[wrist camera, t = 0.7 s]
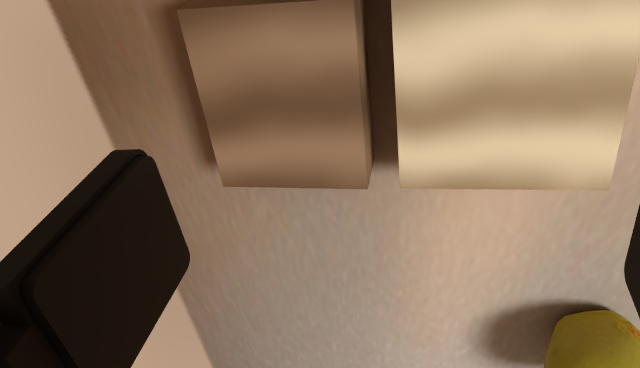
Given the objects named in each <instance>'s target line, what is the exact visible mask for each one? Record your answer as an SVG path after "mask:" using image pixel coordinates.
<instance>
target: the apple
mask: <svg viewBox="0 0 640 368" xmlns="http://www.w3.org/2000/svg"><path fill="white" fill-rule="evenodd" d="M544 368H640V331H639V330H638V329H637V328H636V327H635V326H634V325H633V324H632V323H630V322H629V321H628V320H627V319H626V318H624V317H623V316H621V315H619V314H617V313H615V312H613V311H609V310H599V311H586V312H581V313H575V314H570V315H567V316H564V317H563V318H561V319H560V320H559V321H558V323H557V324H556V326H555V329H554V331H553V334H552V337H551V341H550V344H549V347H548V349H547V353H546V357H545V363H544Z"/></svg>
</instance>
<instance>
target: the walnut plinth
mask: <svg viewBox="0 0 640 368" xmlns="http://www.w3.org/2000/svg"><path fill="white" fill-rule="evenodd" d="M176 11H177V15H178V19H179V23H180V26H181V30H182V34H183V38H184V41H185V45H186V49H187V53H188V56H189V60H190V64H191V68H192V71H193V75H194V79H195V83H196V86H197V90H198V94H199V98H200V101H201V105H202V109H203V113H204V116H205V120H206V124H207V128H208V131H209V135H210V139H211V143H212V146H213V150H214V154H215V158H216V161H217V165H218V169H219V173H220V176H221V180H222V184H223V187H278V188H334V189H368V185H369V181H370V176H371V171H372V166H373V161H374V155H373V139H372V124H371V109H370V93H369V78H368V63H367V47H366V32H365V16H364V1H363V0H190V1H188V2H187V3H185V4H184V5H182V6H181V7H180V8H178V9H177V10H176Z"/></svg>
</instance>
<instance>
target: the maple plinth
mask: <svg viewBox="0 0 640 368" xmlns="http://www.w3.org/2000/svg"><path fill="white" fill-rule="evenodd" d="M391 11H392V32H393V53H394V73H395V94H396V114H397V135H398V155H399V176H400V188H413V189H524V190H609V187H610V183H611V179H612V174H613V170H614V165H615V161H616V157H617V152H618V148H619V143H620V139H621V135H622V130H623V126H624V121H625V117H626V113H627V108H628V104H629V99H630V95H631V91H632V86H633V82H634V78H635V73H636V69H637V64H638V60H639V56H640V0H391Z"/></svg>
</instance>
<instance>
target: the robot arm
mask: <svg viewBox="0 0 640 368" xmlns="http://www.w3.org/2000/svg"><path fill="white" fill-rule="evenodd" d="M189 263H190V253H189V250H188V247H187V244H186V242H185V239H184V237H183V234H182V231H181V229H180V226H179V223H178V221H177V218H176V216H175V213H174V210H173V208H172V205H171V202H170V200H169V197H168V194H167V192H166V189H165V187H164V184H163V181H162V179H161V176H160V173H159V171H158V168H157V166H156V163H155V161H154V159H153V158H152V157H150V156H147V154H146V153H145V152H144V151H143V150H140V149H134V150H114V151H112V152H111V153H110V154H109V155H108V156H107V157H106V158H105V159H104V160H103V161H102V162H101V163H100V164H99V165H98V166H97V167H96V168H94V169H93V170H92V172H90V174H88V175H87V177H85V179H83V180H82V181H81V182H80V183H79V184H78V185H77V186H76V187H75V188H74V189H73V190H72V191H71V192H70V193H69V194H68V195H67V196H66V197H65V198H64V199H63V200H62V201H61V202H60V203H59V204H58V205H57V206H56V207H55V208H54V209H53V210H52V211H51V212H50V213H49V214H48V215H47V216H46V217H45V218H44V219H43V220H42V221H41V222H40V223H39V224H38V225H37V226H36V227H35V228H34V229H33V230H32V231H31V232H30V233H29V234H28V235H27V236H26V237H25V238H24V239H23V240H22V241H21V242H20V243H19V244H18V245H17V246H16V247H15V248H14V249H13V250H12V251H11V252H10V253H9V254H8V255H7V256H6V257H5V258H4V259H3V260H2V261H1V262H0V368H131V366H132V364H133V363H134V361H135V359H136V357H137V356H138V354H139V352H140V350H141V349H142V347H143V345H144V343H145V342H146V340H147V338H148V337H149V335H150V333H151V331H152V330H153V328H154V326H155V324H156V323H157V321H158V319H159V317H160V316H161V314H162V312H163V311H164V309H165V307H166V305H167V303H168V302H169V300H170V298H171V297H172V295H173V293H174V291H175V290H176V288H177V286H178V284H179V283H180V281H181V279H182V277H183V276H184V274H185V272H186V271H187V269H188V266H189ZM624 274H625V281H626V284H627V287H628V290H629V292H630V295H631V297H632V300H633V302H634V305H635V307H636V310H637V312H638V315H639V318H640V205H639V209H638V213H637V217H636V221H635V225H634V229H633V233H632V237H631V241H630V245H629V249H628V253H627V257H626V261H625V266H624Z"/></svg>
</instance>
